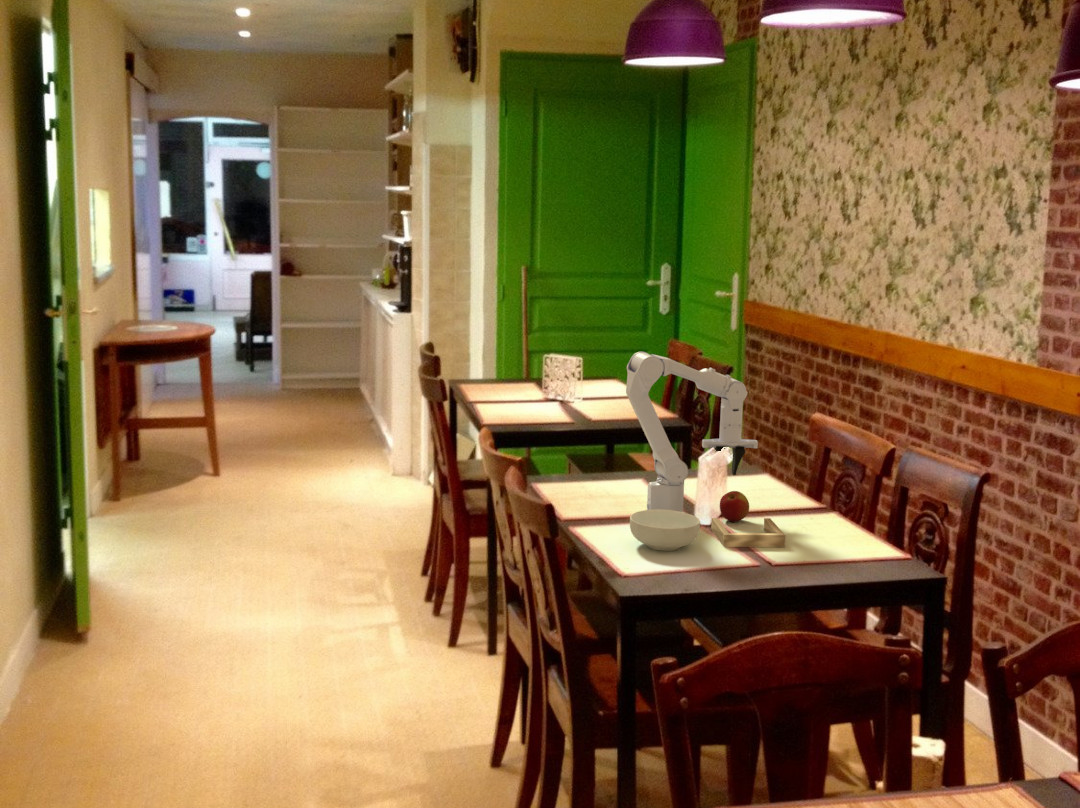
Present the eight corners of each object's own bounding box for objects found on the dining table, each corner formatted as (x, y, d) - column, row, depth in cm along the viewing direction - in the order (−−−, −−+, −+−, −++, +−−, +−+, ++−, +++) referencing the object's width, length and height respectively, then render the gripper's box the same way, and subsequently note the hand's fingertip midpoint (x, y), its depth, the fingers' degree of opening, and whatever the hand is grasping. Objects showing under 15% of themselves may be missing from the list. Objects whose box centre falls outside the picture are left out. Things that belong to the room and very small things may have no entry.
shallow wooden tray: (723, 546, 307) (724, 534, 307) (711, 529, 323) (711, 517, 322) (784, 547, 308) (785, 535, 308) (769, 529, 324) (770, 518, 323)
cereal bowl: (642, 558, 297) (643, 529, 296) (619, 538, 313) (620, 510, 311) (710, 554, 301) (711, 525, 300) (683, 535, 317) (685, 507, 316)
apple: (712, 518, 333) (714, 489, 332) (740, 516, 336) (741, 487, 335) (727, 526, 326) (728, 495, 325) (754, 523, 329) (756, 493, 328)
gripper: (706, 426, 331) (704, 477, 334) (761, 427, 332) (758, 477, 335) (701, 421, 338) (699, 471, 341) (755, 422, 339) (752, 471, 341)
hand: (728, 474), depth 338 cm, fingers closed
